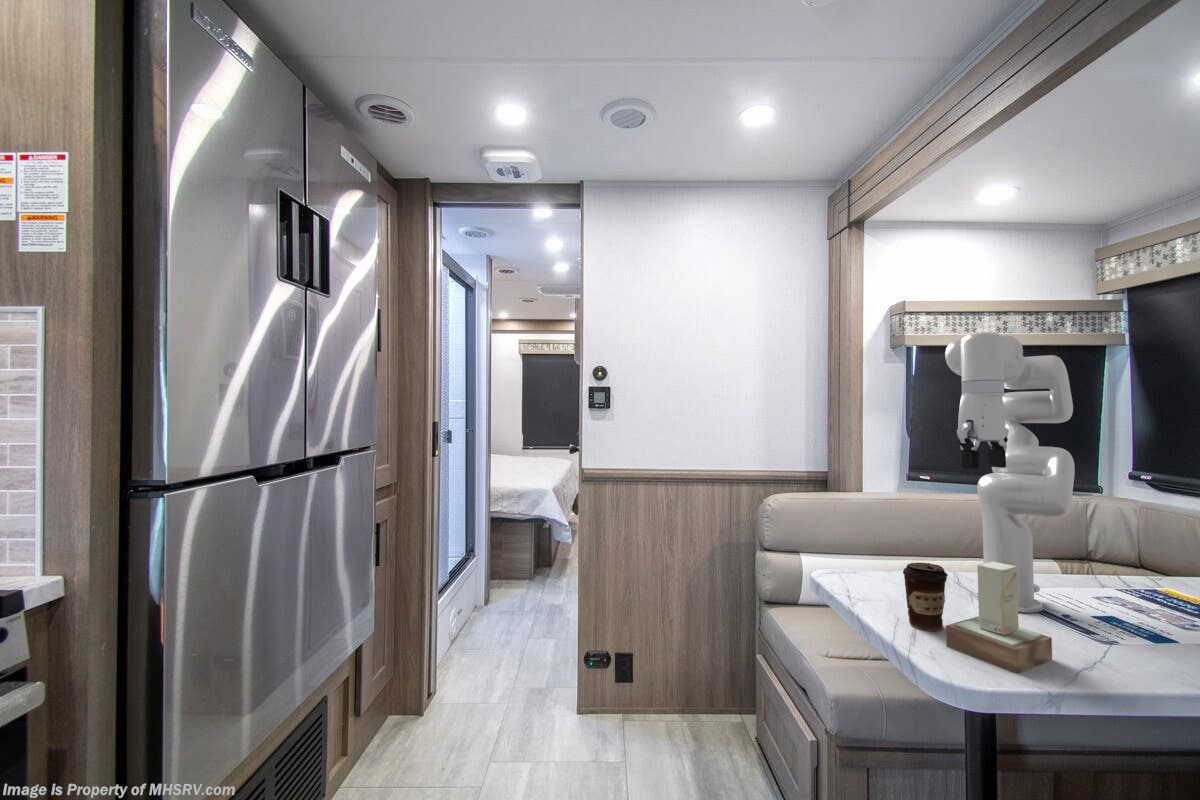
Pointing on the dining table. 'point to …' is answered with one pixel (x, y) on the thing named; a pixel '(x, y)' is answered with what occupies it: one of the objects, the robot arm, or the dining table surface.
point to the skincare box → (998, 597)
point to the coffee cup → (925, 595)
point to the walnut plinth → (1000, 645)
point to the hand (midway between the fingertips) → (984, 467)
